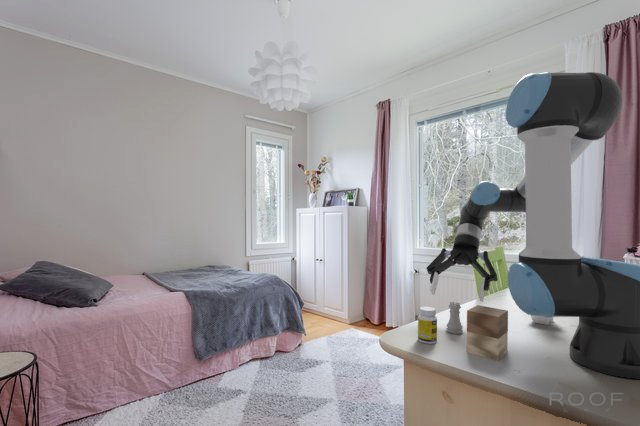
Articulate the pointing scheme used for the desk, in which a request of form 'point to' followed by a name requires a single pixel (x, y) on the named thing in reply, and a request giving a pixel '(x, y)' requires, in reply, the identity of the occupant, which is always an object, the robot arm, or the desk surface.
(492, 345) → the beech block
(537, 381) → the desk surface
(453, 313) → the rook chess piece
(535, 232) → the robot arm
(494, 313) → the walnut block
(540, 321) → the voxel character
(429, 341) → the supplement bottle
